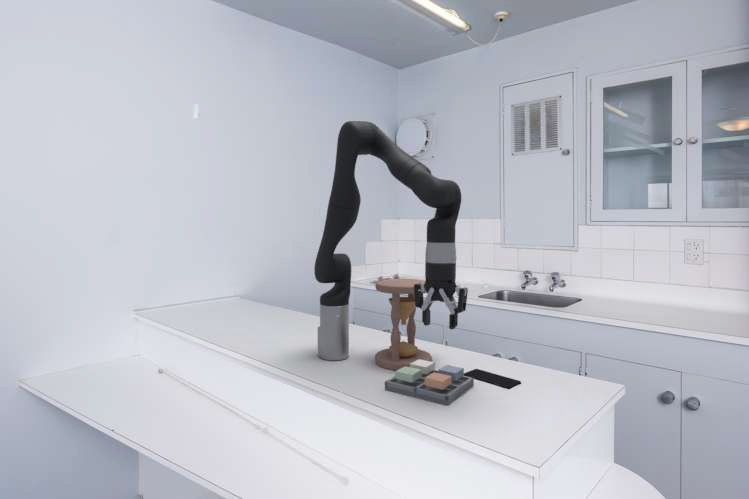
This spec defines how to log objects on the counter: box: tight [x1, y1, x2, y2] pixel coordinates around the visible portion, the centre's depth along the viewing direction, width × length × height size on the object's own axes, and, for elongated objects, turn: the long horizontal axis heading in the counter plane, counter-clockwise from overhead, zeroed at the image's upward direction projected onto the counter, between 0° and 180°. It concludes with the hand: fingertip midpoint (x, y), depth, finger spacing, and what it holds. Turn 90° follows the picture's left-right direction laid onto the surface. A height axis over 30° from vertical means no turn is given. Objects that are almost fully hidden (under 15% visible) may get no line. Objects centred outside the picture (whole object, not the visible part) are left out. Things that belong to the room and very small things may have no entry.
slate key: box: [437, 364, 465, 381], centre depth 125 cm, size 5×5×2 cm
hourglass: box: [374, 278, 433, 372], centre depth 145 cm, size 18×18×25 cm
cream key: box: [410, 359, 436, 374], centre depth 130 cm, size 5×5×2 cm
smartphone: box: [464, 368, 522, 390], centre depth 131 cm, size 7×1×15 cm
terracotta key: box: [425, 372, 452, 390], centre depth 118 cm, size 5×5×2 cm
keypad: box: [384, 369, 475, 407], centre depth 124 cm, size 18×16×2 cm
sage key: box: [394, 366, 422, 382], centre depth 123 cm, size 5×5×2 cm
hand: (439, 326), depth 118 cm, fingers open, 6 cm apart
